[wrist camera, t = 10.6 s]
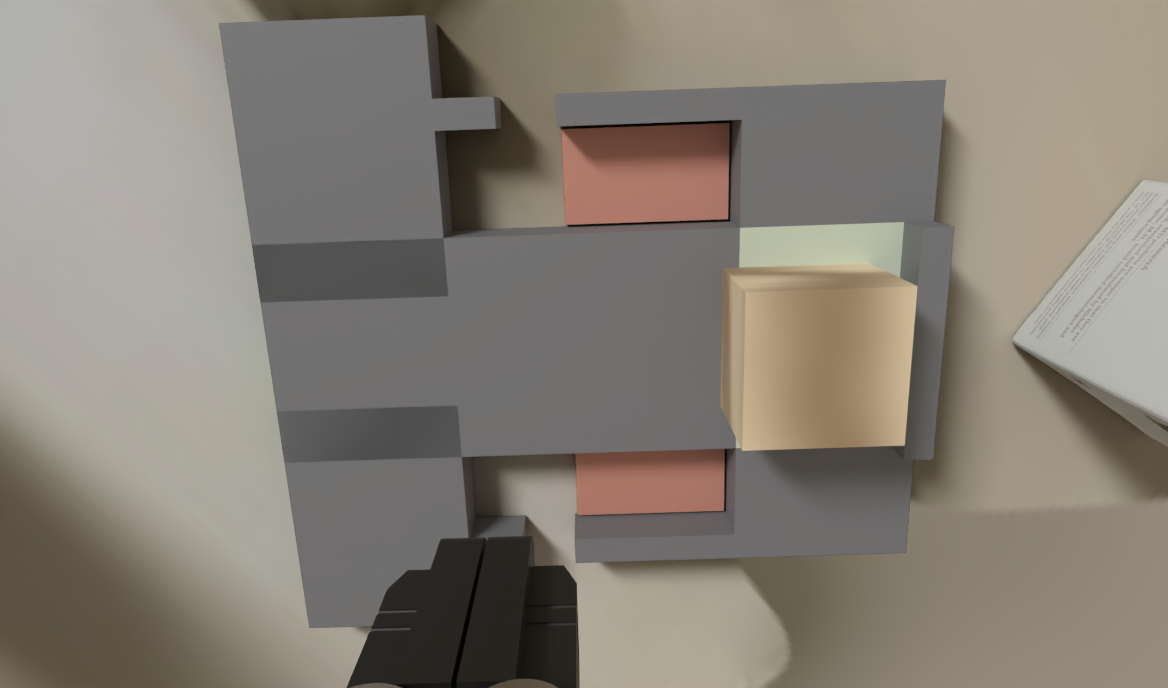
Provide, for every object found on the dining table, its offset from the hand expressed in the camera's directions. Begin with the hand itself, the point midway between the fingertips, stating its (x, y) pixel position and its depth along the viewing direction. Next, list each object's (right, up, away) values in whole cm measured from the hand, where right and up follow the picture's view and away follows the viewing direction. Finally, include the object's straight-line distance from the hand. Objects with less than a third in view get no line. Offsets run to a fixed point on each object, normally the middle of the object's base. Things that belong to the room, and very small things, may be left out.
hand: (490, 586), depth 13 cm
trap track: (+2, +4, +17) cm, 17 cm away
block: (+9, +4, +14) cm, 17 cm away
